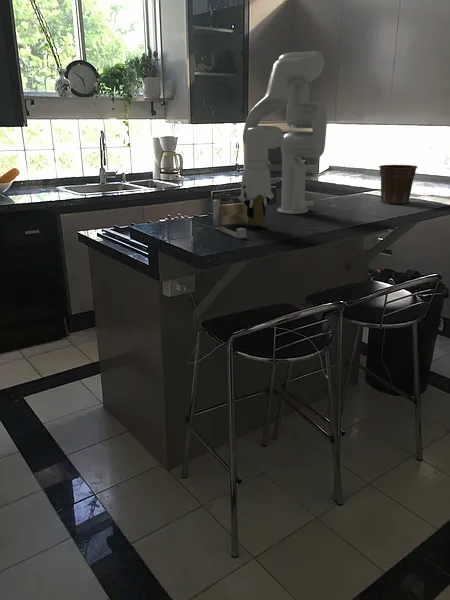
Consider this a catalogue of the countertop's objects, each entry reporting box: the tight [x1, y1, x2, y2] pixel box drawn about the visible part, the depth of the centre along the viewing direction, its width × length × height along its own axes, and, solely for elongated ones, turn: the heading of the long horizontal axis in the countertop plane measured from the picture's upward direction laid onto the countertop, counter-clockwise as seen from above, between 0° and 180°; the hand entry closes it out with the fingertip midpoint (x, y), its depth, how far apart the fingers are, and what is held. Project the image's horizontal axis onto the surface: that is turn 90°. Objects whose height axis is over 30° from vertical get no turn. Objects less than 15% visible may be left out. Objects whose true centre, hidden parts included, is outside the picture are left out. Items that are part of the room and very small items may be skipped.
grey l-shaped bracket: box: [212, 199, 247, 239], centre depth 176 cm, size 20×2×10 cm, turn 29°
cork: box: [247, 195, 265, 226], centre depth 182 cm, size 6×6×11 cm
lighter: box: [211, 192, 234, 220], centre depth 197 cm, size 8×3×10 cm, turn 92°
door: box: [220, 202, 248, 226], centre depth 188 cm, size 14×3×7 cm, turn 117°
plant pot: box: [378, 164, 418, 205], centre depth 231 cm, size 16×16×16 cm
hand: (256, 217), depth 183 cm, fingers closed on cork, 4 cm apart
